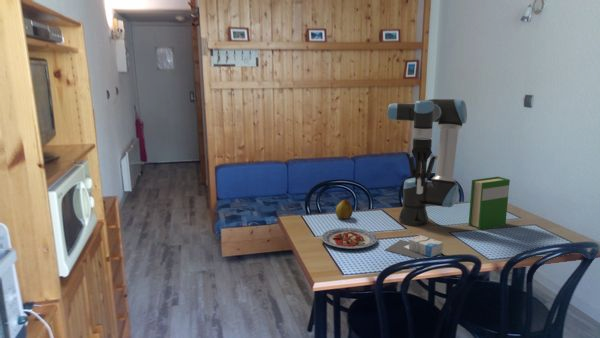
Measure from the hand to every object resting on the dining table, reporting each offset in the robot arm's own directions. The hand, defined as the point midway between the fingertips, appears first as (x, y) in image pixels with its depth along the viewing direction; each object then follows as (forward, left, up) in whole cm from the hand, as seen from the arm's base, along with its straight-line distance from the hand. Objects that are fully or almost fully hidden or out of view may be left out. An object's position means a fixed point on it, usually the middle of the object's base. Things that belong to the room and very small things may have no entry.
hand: (419, 193), depth 186 cm
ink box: (+9, +1, -24) cm, 25 cm away
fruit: (-51, +19, -27) cm, 61 cm away
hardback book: (+13, +55, -27) cm, 62 cm away
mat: (-2, 0, -26) cm, 26 cm away
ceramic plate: (-30, -8, -27) cm, 41 cm away
